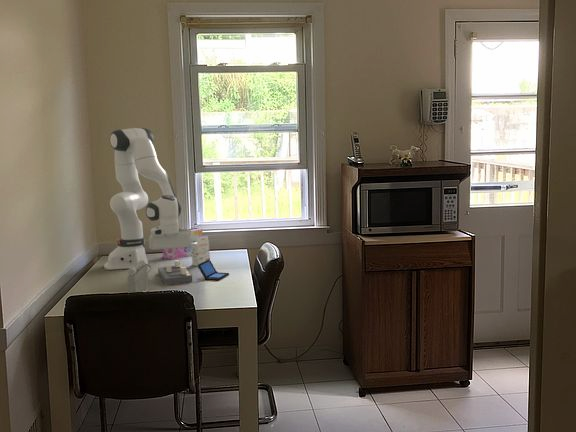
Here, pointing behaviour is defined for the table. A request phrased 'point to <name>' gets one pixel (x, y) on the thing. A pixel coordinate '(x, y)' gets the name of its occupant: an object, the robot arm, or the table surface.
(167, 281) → the switch panel
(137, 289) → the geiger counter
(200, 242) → the ink cartridge box
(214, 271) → the handheld game console
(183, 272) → the switch tab
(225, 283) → the table surface
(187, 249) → the gum box
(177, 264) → the switch tab
